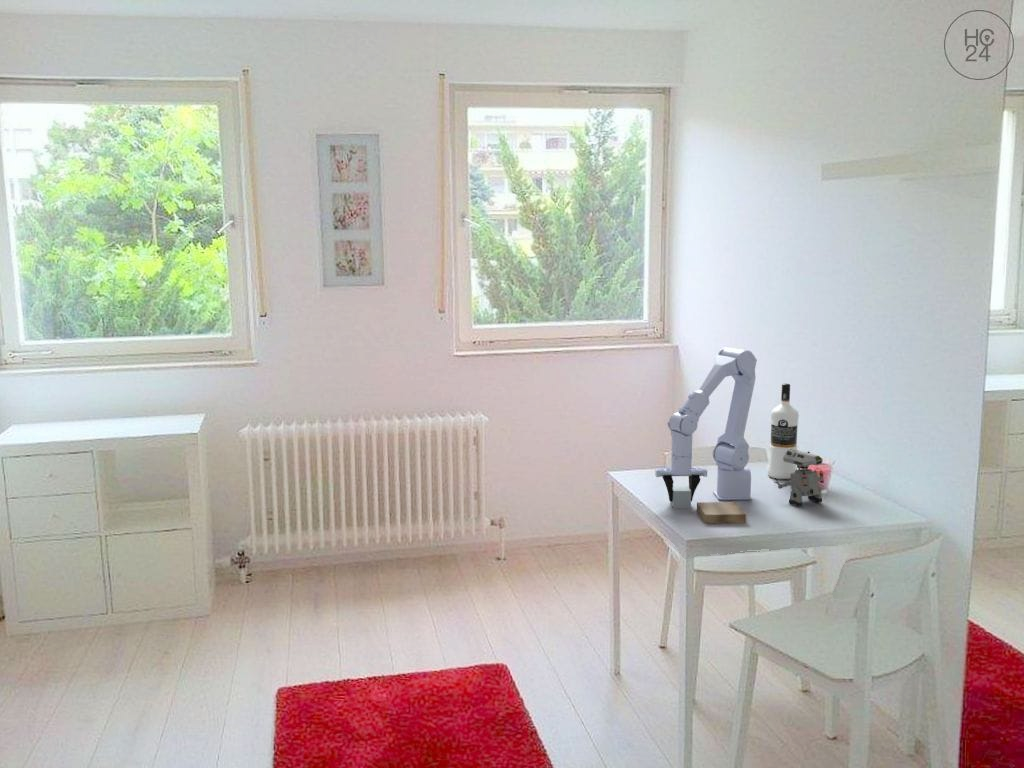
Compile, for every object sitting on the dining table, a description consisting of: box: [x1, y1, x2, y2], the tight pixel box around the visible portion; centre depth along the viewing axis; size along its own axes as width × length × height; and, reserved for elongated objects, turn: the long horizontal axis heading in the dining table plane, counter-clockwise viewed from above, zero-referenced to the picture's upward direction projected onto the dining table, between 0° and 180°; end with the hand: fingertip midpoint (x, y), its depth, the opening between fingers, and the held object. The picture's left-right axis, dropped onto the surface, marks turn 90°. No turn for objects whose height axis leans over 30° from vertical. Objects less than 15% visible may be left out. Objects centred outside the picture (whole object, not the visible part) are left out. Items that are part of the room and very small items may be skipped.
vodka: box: [766, 383, 800, 480], centre depth 291 cm, size 9×9×30 cm
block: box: [669, 485, 692, 509], centre depth 265 cm, size 5×5×5 cm
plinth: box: [696, 501, 747, 525], centre depth 254 cm, size 11×11×2 cm
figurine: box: [774, 449, 825, 508], centre depth 266 cm, size 9×12×15 cm
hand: (680, 500), depth 265 cm, fingers closed on block, 5 cm apart
